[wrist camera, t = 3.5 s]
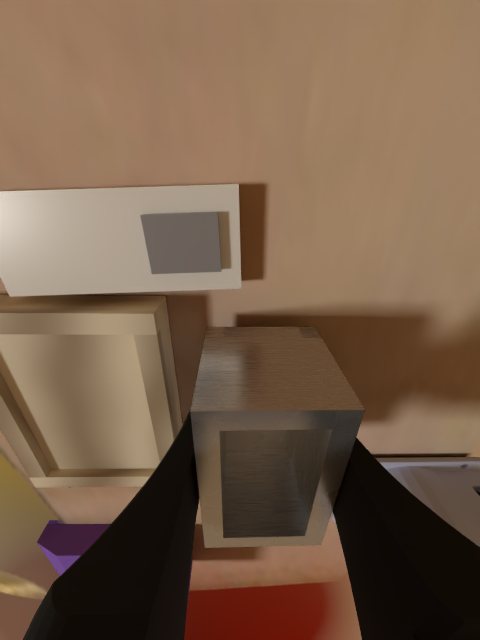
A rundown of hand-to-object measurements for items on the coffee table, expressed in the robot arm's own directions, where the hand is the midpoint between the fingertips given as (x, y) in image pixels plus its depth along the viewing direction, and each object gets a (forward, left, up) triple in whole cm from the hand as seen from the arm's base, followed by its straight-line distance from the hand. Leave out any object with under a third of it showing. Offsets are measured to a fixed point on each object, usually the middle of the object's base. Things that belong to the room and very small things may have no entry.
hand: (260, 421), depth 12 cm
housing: (0, 0, -2) cm, 2 cm away
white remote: (+6, -8, -4) cm, 10 cm away
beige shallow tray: (+9, +1, -3) cm, 10 cm away
